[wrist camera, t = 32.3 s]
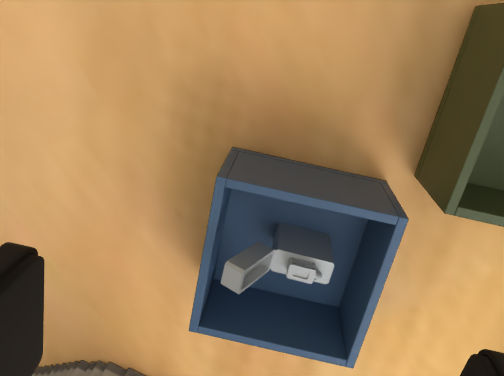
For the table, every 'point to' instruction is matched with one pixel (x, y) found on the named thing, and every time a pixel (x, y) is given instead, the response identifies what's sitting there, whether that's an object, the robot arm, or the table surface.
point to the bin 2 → (471, 127)
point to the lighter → (282, 259)
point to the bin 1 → (277, 284)
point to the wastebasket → (85, 370)
